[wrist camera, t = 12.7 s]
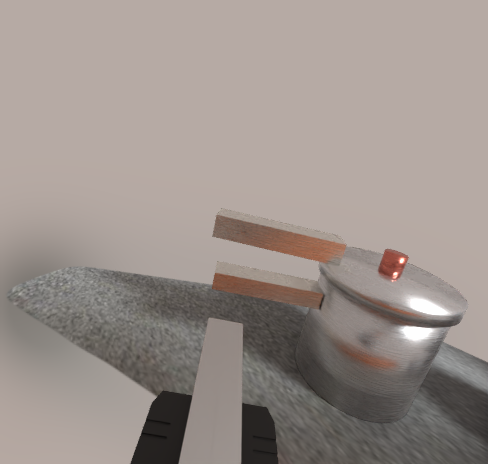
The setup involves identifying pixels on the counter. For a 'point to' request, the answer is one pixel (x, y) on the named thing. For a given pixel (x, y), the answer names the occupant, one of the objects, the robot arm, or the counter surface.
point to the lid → (354, 269)
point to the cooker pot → (346, 343)
